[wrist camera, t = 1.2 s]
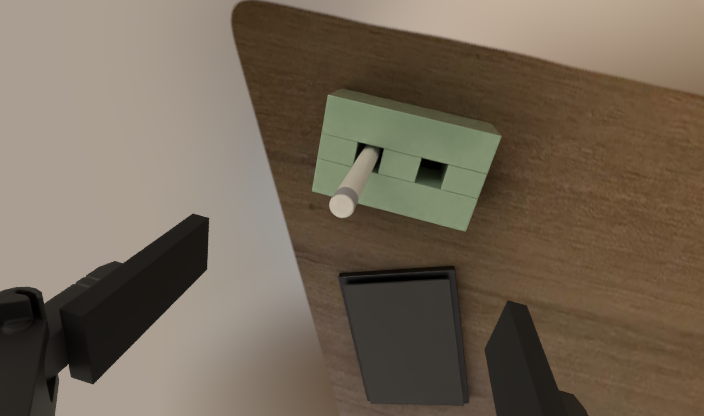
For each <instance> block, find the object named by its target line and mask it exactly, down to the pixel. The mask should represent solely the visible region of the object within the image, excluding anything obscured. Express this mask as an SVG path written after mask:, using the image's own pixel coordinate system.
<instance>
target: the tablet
mask: <svg viewBox="0 0 704 416" xmlns="http://www.w3.org/2000/svg"><path fill="white" fill-rule="evenodd" d="M338 278H339V282H340V287H341V291H342V295H343V299H344V303H345V308H346V312H347V316H348V320H349V324H350V329H351V333H352V337H353V341H354V345H355V350H356V354H357V358H358V362H359V366H360V371H361V375H362V379H363V383H364V387H365V392H366V396H367V400H368V401H370V398H369V394H368V390H367V385H366V381H365V377H364V373H363V368H362V364H361V360H360V356H359V351H358V347H357V343H356V339H355V334H354V330H353V326H352V322H351V317H350V313H349V309H348V305H347V300H346V296H345V292H344V287H343V285H345V284H362V283H380V282H397V281H415V280H432V279H449V280H450V289H451V298H452V307H453V315H454V324H455V333H456V341H457V350H458V359H459V368H460V376H461V385H462V394H463V403H469V398H468V389H467V380H466V370H465V361H464V352H463V342H462V333H461V324H460V315H459V305H458V296H457V287H456V277H455V268H454V266H444V267H429V268H414V269H398V270H383V271H368V272H352V273H340V274H339V277H338Z"/></svg>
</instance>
